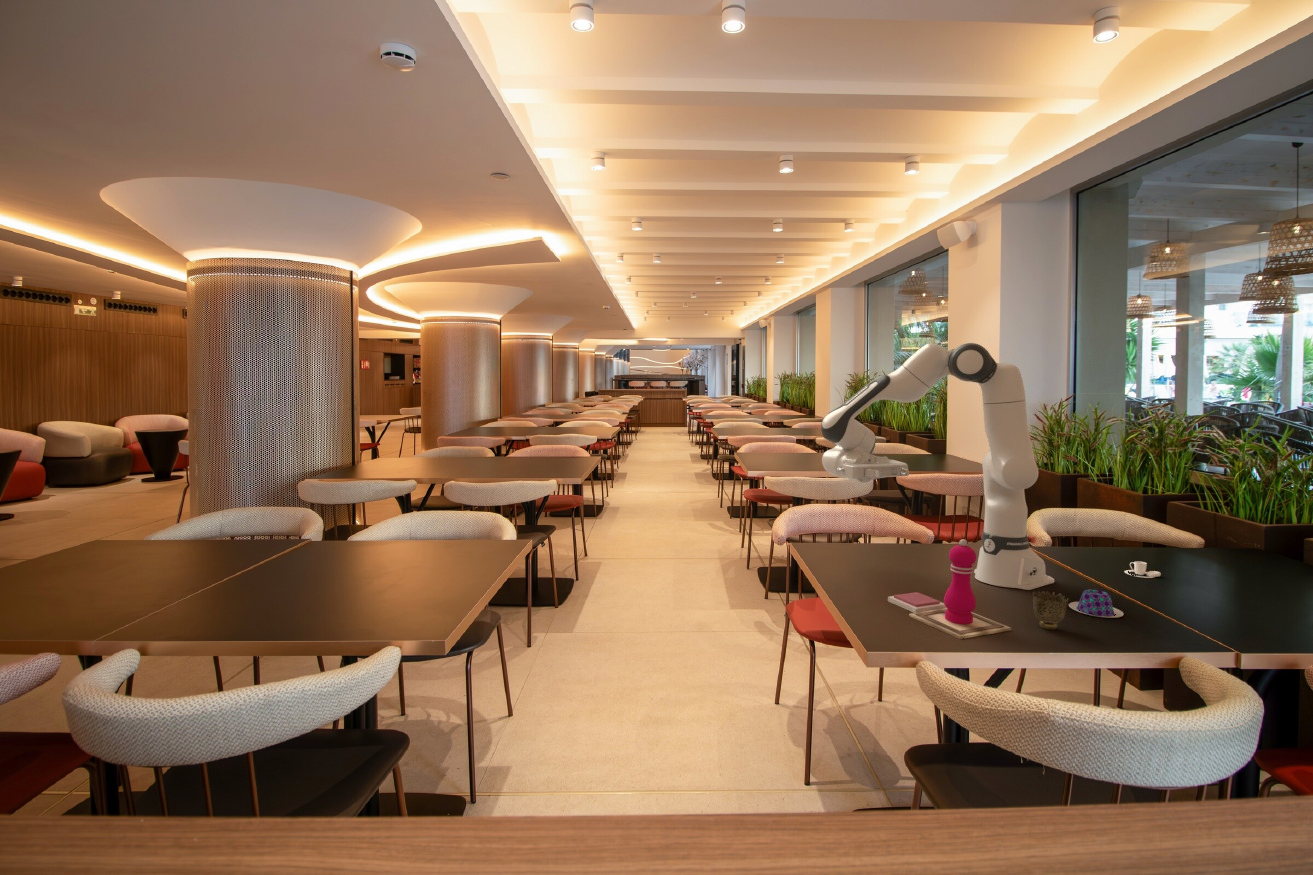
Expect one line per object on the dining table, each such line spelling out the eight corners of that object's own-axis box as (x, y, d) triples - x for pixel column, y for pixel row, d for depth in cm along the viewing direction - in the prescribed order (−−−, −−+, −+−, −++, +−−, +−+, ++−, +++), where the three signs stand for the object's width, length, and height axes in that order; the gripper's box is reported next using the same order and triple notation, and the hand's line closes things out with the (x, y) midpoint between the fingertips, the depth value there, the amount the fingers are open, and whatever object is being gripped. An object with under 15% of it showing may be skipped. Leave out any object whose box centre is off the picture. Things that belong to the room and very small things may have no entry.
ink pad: (916, 597, 186) (917, 590, 186) (945, 608, 177) (945, 602, 177) (887, 601, 182) (888, 594, 182) (915, 613, 173) (915, 606, 173)
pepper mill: (974, 617, 169) (979, 537, 167) (975, 627, 162) (980, 544, 160) (942, 613, 172) (947, 534, 170) (942, 622, 165) (947, 540, 163)
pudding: (1096, 603, 184) (1098, 584, 184) (1135, 619, 173) (1137, 598, 172) (1057, 605, 182) (1058, 586, 182) (1093, 621, 170) (1095, 600, 170)
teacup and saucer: (1164, 578, 209) (1165, 565, 209) (1147, 581, 206) (1148, 567, 206) (1135, 570, 217) (1136, 558, 217) (1118, 573, 215) (1119, 560, 214)
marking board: (957, 608, 177) (957, 605, 177) (1010, 630, 162) (1010, 627, 162) (909, 616, 171) (909, 613, 171) (959, 639, 156) (960, 635, 156)
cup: (1071, 634, 160) (1073, 601, 159) (1036, 632, 162) (1038, 598, 161) (1059, 623, 167) (1061, 591, 167) (1026, 621, 169) (1028, 589, 168)
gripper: (833, 457, 203) (865, 463, 190) (888, 456, 211) (922, 461, 198) (833, 479, 204) (863, 486, 191) (887, 476, 211) (920, 483, 199)
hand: (894, 473), depth 195 cm, fingers open, 8 cm apart
